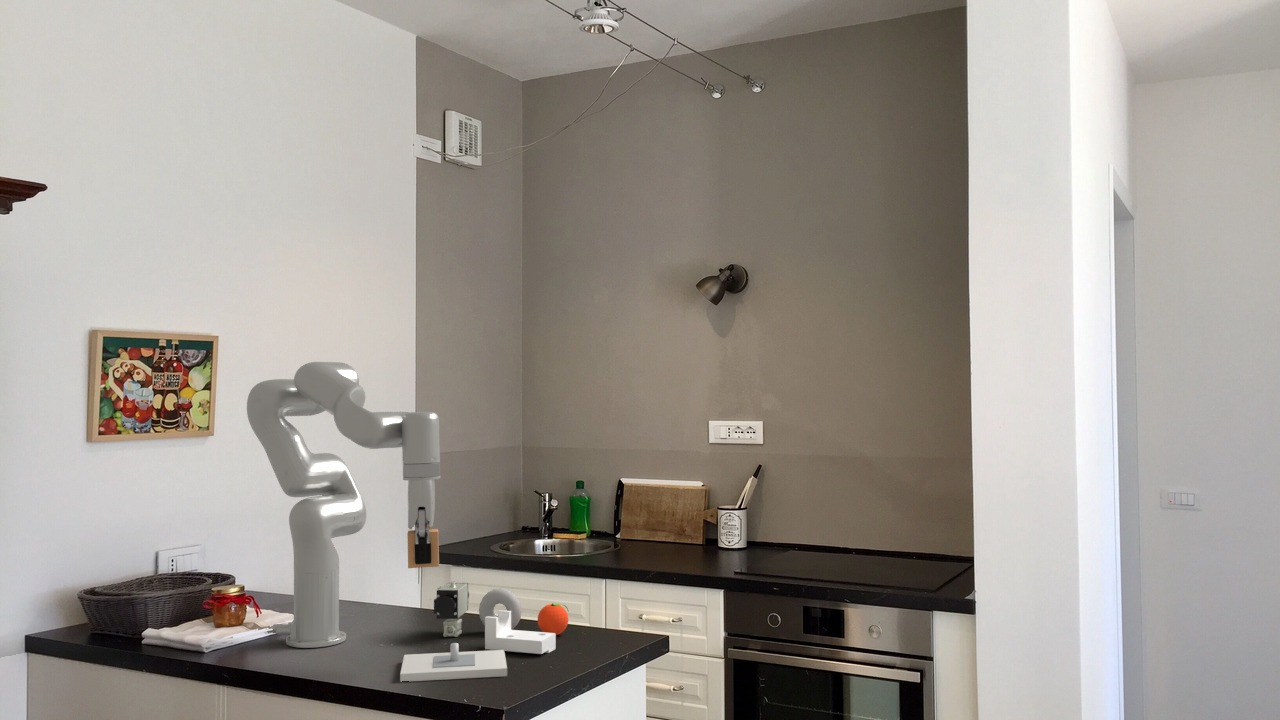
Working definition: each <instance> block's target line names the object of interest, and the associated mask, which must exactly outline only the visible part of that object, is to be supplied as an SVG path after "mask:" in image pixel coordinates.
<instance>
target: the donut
mask: <svg viewBox="0 0 1280 720" xmlns="http://www.w3.org/2000/svg"><path fill="white" fill-rule="evenodd" d="M498 604H499V605H503V606H504V608H505V609H506V611H511V630H514V628H516V626H517V625H518V624H519V623H520V620H521V619H522V605H521V601H520V600H519V598H518V597H517V595H515V594H514V593H513V591H510V590H509V589H505V588H494V589H491V590H490V591H488V592H487V593H486V594H485V595H483V597H482V598H481V600H480V603H479V608H478V614H479V618H480V621H481V622H482V623H481V624H482V625H483V626H485V617H487V616H489V617H498V615H497V614H496V613H495V607H496V606H497V605H498Z"/></svg>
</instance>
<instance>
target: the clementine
mask: <svg viewBox="0 0 1280 720" xmlns="http://www.w3.org/2000/svg"><path fill="white" fill-rule="evenodd" d="M565 608H566V609H567V610H566V609H565ZM569 611H570V610H569V609H568V606H566V605H565V604H561V603H550V604H546V605H545V606H543V607H542V608H541V610H540V611H539V612H538V615H537V625H538V628H539V629H540V632H546V633H556V636H558V635H560V634H562V633H563V632H564V631H565V630H566V628H567V626H568V624H569V615H568V613H567V612H569ZM569 613H570V612H569Z"/></svg>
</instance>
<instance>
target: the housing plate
mask: <svg viewBox="0 0 1280 720" xmlns="http://www.w3.org/2000/svg"><path fill="white" fill-rule="evenodd" d="M449 646H450V649H449V651H450V652H436V653H435V652H433V653H432V652H431V653H412V654H411V653H410V654H404V655H403V659H402V664H401V669H400V673H399V682H400V683H403V682H402V681H409V682H424V681H440V680H441V681H443V680H461V679H478V678H481V679H482V678H496V677H497V678H498V677H508V666H507V659H506V653H505V651H504V650H490V649H489V650H477V651H476V650H475V651H474V650H472V651H470V650H469V651H459V649H460V648H459V646H460V645H459V643H457V642H452V643H450V645H449Z"/></svg>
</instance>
